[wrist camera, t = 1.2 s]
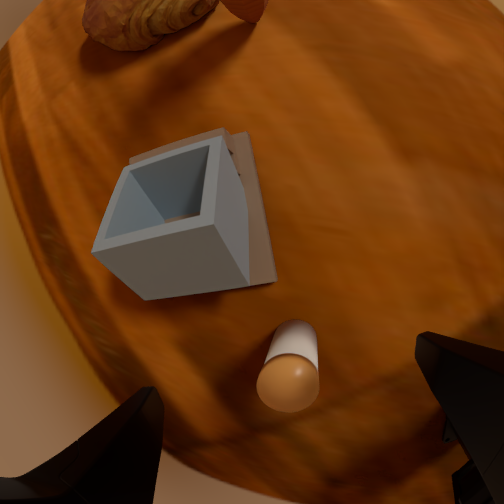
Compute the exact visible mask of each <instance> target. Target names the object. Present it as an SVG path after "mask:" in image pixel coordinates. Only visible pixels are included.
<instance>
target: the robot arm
mask: <svg viewBox="0 0 504 504" xmlns="http://www.w3.org/2000/svg"><path fill="white" fill-rule="evenodd" d="M415 359H416V361H417V363H418V365H419V367H420V369H421V371H422V373H423V375H424V377H425V379H426V381H427V383H428V385H429V387H430V389H431V391H432V392H433V394H434V396H435V397H436V399H437V400H438V402H439V404H440V405H441V407H442V408H443V410H444V412H445V413H446V421H445V426H444V432H443V436H442V441H443V443H449V442H452V441H454V440H457V439H458V441H459V443H460V444H461V446H462V448H463V450H464V452H465V454H466V455H467V457H468V459H469V461H468V462H467V463H466V464H465V465H463V466H462V467H461V468H460V469H459V470H458V471H456V472H454V473H453V474H452V481H453V482H452V483H453V490H454V498H455V504H504V351H500V350H496V349H492V348H488V347H484V346H481V345H477V344H473V343H469V342H466V341H462V340H458V339H455V338H451V337H447V336H444V335H440V334H436V333H433V332H429V331H426V332H423V333H420V334H419V335H418V336H417V339H416V347H415ZM163 422H164V405H163V402H162V400H161V398H160V396H159V393H158V391H157V389H156V388H155V387H153V386H148V387H142V388H141V389H140V390H139V391H137V392H136V393H135V394H134V395H133V396H131V397H130V398H129V399H128V400H126V401H125V402H124V403H123V404H121V405H120V406H119V407H118V408H117V409H115V410H114V411H113V412H112V413H111V414H109V415H108V416H107V417H105V418H104V419H103V420H102V421H100V422H99V423H98V424H97V425H95V426H94V427H93V428H91V429H90V430H89V431H88V432H86V433H85V434H84V435H83V436H81V437H80V438H79V439H78V441H75V442H74V443H72V444H71V445H70V446H69V447H67V448H66V449H64V450H63V451H62V452H60V453H59V454H57V455H55V456H54V457H52V458H51V459H49V460H48V461H46V462H45V463H43V464H41V465H40V466H38V467H36V468H34V469H33V470H31V471H29V472H28V473H26V474H24V475H22V476H19V477H13V478H5V477H0V504H153V498H154V491H155V485H156V479H157V473H158V467H159V461H160V456H161V450H162V440H163Z"/></svg>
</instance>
